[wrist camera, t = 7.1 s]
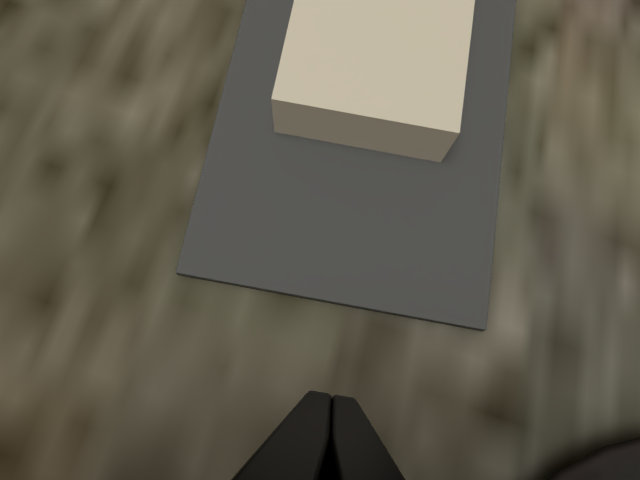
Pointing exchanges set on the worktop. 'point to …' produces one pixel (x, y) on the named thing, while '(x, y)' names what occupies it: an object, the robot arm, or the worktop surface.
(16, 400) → the worktop surface
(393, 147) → the box
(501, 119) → the mat
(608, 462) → the casserole
